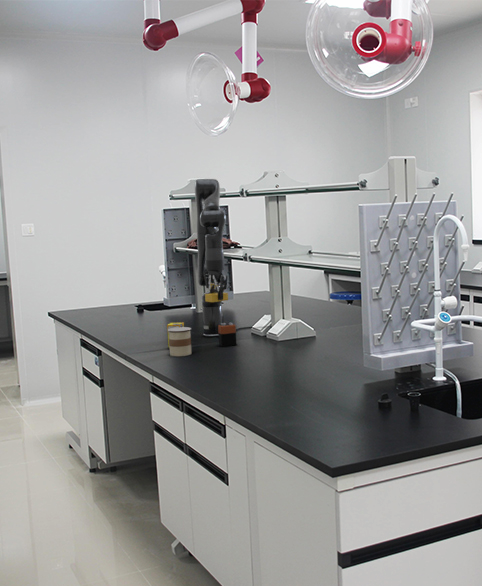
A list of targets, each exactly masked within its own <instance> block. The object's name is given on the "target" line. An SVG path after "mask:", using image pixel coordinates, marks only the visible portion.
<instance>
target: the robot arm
mask: <svg viewBox="0 0 482 586" xmlns="http://www.w3.org/2000/svg"><path fill="white" fill-rule="evenodd" d="M194 198H195V208H196V209H195V210H196V240H197V241H196V244H197V282H198V285H199V286H200V287H205V288H206V289H208V290H209V291H207V292H204V293H203V294H202V295H201V307H202V308H201V309H202V327H203V337H207V338H216V337H219V330H218V326H219V325H222V324H221V323H225V315H224V314H223V303H222V302H223V301H218V302H207V301H205V294H211V293H218V300H223V293H224V291H225V290H227V287H228V275H224V273H223V271H224V270H225V252H224V248H223V247H224V245H223V243H224V241H223V235H224V228H225V225H226V222H227V221H226V220H227V216H226V213H225V212H224V211H223V210H221V208H220V199H221V186H220V182H219V181H218V180H217V179H216V178H199V179H195V182H194ZM247 329H253V328H252V326H244V327H237V328H236V332H237V331H240V330H247Z"/></svg>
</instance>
